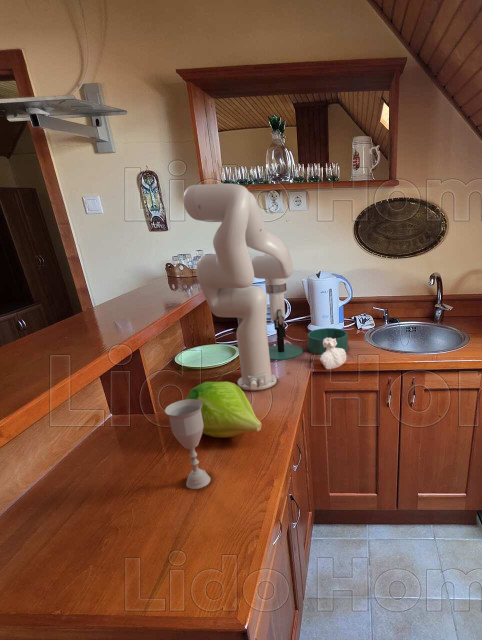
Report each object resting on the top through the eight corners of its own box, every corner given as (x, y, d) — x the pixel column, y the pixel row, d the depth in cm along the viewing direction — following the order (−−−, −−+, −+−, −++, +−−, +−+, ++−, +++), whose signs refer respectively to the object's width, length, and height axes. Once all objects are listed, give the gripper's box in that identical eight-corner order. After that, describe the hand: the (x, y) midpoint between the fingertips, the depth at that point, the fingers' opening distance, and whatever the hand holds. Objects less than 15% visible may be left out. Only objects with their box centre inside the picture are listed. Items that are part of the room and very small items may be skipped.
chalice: (203, 467, 95) (190, 396, 87) (222, 479, 91) (209, 404, 83) (174, 483, 90) (157, 409, 82) (192, 496, 86) (176, 419, 78)
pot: (352, 353, 161) (351, 337, 158) (311, 357, 158) (311, 341, 155) (342, 341, 175) (342, 326, 172) (305, 345, 172) (304, 330, 169)
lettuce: (278, 435, 111) (238, 470, 101) (216, 401, 120) (174, 430, 109) (279, 392, 103) (235, 426, 92) (212, 358, 111) (165, 386, 100)
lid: (306, 359, 157) (305, 342, 154) (261, 363, 154) (259, 346, 151) (299, 345, 172) (298, 329, 169) (258, 349, 169) (256, 333, 166)
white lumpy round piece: (343, 366, 155) (329, 340, 156) (355, 358, 149) (340, 330, 150) (320, 376, 147) (305, 348, 148) (332, 368, 141) (317, 339, 142)
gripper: (264, 284, 160) (268, 327, 167) (267, 294, 144) (272, 341, 152) (283, 282, 161) (287, 325, 168) (289, 292, 146) (292, 339, 153)
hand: (280, 333), depth 160 cm, fingers open, 9 cm apart
